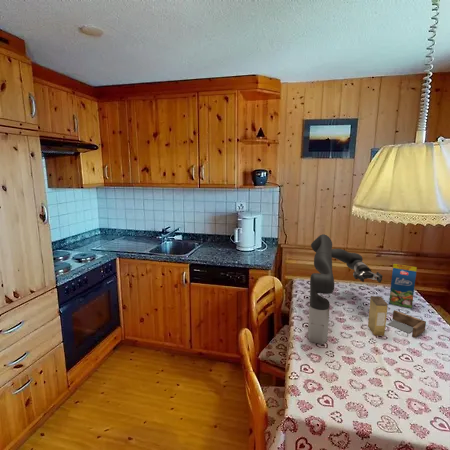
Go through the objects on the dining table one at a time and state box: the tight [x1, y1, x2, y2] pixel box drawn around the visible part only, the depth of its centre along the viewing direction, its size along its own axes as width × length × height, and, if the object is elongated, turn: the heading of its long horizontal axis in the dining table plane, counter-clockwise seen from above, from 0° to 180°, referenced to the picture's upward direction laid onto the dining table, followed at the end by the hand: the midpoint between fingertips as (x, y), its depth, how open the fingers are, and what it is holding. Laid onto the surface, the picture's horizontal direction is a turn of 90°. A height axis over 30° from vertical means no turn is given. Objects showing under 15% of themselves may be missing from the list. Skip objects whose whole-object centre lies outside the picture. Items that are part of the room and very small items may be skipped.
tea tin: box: [367, 295, 389, 337], centre depth 153 cm, size 9×5×17 cm, turn 172°
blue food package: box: [388, 263, 418, 309], centre depth 182 cm, size 6×12×25 cm, turn 56°
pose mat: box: [386, 319, 413, 334], centre depth 159 cm, size 11×7×1 cm, turn 36°
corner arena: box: [392, 309, 427, 339], centre depth 157 cm, size 16×12×5 cm
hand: (371, 280), depth 162 cm, fingers open, 8 cm apart
